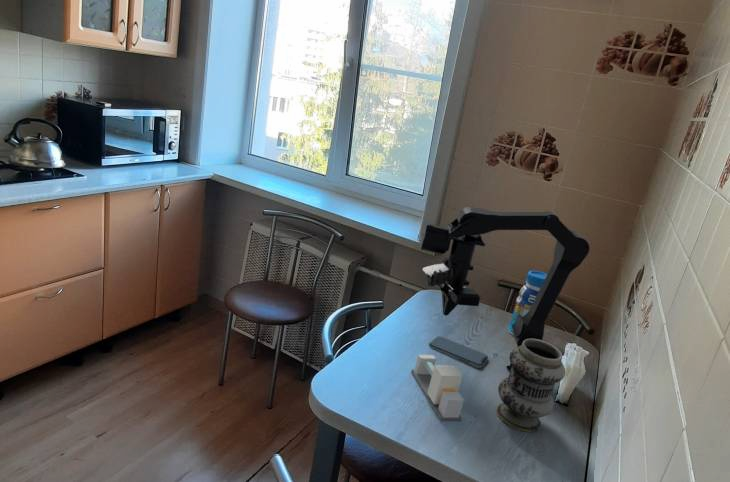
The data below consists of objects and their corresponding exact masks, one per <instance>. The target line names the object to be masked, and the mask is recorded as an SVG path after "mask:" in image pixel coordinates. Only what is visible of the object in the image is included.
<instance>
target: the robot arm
mask: <svg viewBox="0 0 730 482" xmlns="http://www.w3.org/2000/svg"><path fill="white" fill-rule="evenodd" d="M494 231H547V232H549V234H550V235H552V236H553V238H555V240H556V243H555V248H554V249H553V250H554V252H553V261H552V264H551V266H550V269H549V270H548V272H547V273H546V274H547V276H546V278H545V280H544V282H543V284H542V286H541V288H540V290H539V292H538V294H537V296H536V298H535V300H534V302H533V304H532V306H531V308H530V310H529V312H528V313H527V314H525V315H524V316H522V315H520V314H518V316H517V319H516V322H515V323H514V324H513V325H512V328H513V335H512V336H513V338H514V341H515V343H516V345H517V347H519V346H521V345H522V342H523V341H524V340H526V339H539V340H542V341H543V339H544V334H545V326H546V321H547V319H548V317H549V315H550V313H551V311H552V309H553V307H554V306H555V304H556V302H557V300H558V298H559V295H561V292H562V290H563V288H564V286H565V284H566V283H567V280H568V278H569V276H570V274H571V273H572V272H573V271H574V270H575V269H577V268H578V267H580V266H581V265H582V264H583V262H584V261H585V259H586V258H587V256H588V255H589V254H590V247H591V246H590V245H589V242H588V241H587V240H586V239H585V238H584V237H583V236H582V235H581V234H580V233H579V232H577V231H575V230H570V229H569V228H568V227H567V226H566V225H565V224H564V223H563V222H562V221H561V220H560V218H559V216H557V215H556V214H555V213H554V212H552V211H550V210H546V211H493V210H489V209H484V208H481V207H480V208H479V207H474V206H467V207H463V208H462V209H461V210H460V211H459V212H458V214H457V217H455V218H454V220H452V221H451V222H450V223H448V224H447V225H446V227H445V226H440V225H436V224H433V223H429V222H427V223H426V224H425V228H424V231H423V233H422V235H421V240H420V246H419V250H420V251H423V252H428V253H431V254H432V253H433V254H437V255H441V256H443V255H444V254H446V253H447V252H448V253H449V254H448V257H444V258H443V260H442V263H436V264H432V265H428V266H425V267H422V277H423V281H424V282H425V283H426V285H427V286H428V287H435V286H437V287H438V289H439V290H440V292H441V299H442V300H441V301H442V314H443V316H448V315H450V313H452V311H453V310H454V309H456V307H457V306H469V307H470V306H473V307H479V306H480V303H481V299H482V298H481V297H480V295H479V294H478V292H476V291H475V290H474V289H473V288H471V287H470V288H469V287H466V286H469V285H470V281H469V279H468V276H469V273H470V271H474V268H475V267H474V265H473V264H472V262H473V259H474V255H475V254H474V253H475V250H476V248H477V246H480V247H485V246H486V243H485V241H484V239H483V238H482V235H485V234H488V233H491V232H494ZM451 242H452V243H451ZM449 249H450V251H449ZM506 369H507V371H509V373H510V372H511V369H512V365H511V363H510V364H509V365H506Z"/></svg>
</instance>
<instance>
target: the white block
mask: <svg viewBox="0 0 730 482" xmlns="http://www.w3.org/2000/svg"><path fill="white" fill-rule="evenodd" d="M462 380H463V374H462V373H461V371H460V370H459V369H458V367H457V366H456V365H446V364H445V365H443V364H441V365H439V364H435V365H434V370H433V374H432V377H431V381H430V385H429V388H428V392H427V394H428V395H429V397H430V399H431V400H432V402H433V404H439V403H440V400H441V399H440V398H441V395H442V391H443V388H453V389H455V391H456V392H459V390H460V386H461V383H462Z"/></svg>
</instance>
